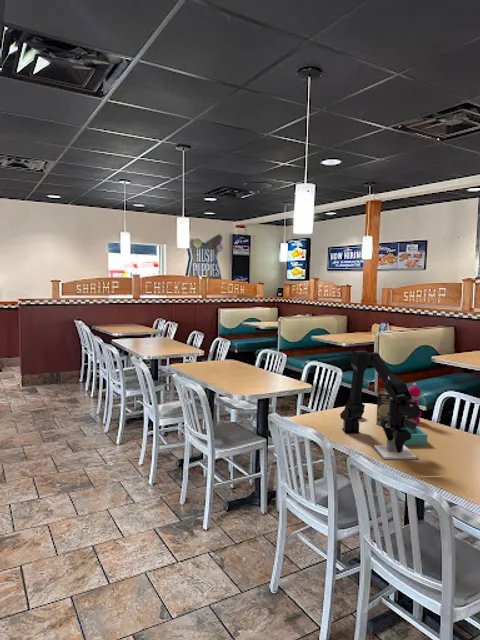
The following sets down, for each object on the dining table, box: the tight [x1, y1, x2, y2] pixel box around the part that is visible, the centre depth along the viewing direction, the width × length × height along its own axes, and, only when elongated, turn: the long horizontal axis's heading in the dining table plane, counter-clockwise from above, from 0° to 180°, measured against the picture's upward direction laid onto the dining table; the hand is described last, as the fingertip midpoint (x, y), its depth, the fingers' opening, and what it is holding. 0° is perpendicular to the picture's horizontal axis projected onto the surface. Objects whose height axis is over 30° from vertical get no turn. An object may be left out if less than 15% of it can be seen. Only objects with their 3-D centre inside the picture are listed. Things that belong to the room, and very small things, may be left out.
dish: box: [401, 425, 428, 446], centre depth 202 cm, size 11×11×5 cm
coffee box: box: [376, 390, 399, 426], centre depth 224 cm, size 9×6×16 cm
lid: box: [373, 439, 418, 459], centre depth 187 cm, size 13×13×5 cm
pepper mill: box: [408, 382, 422, 424], centre depth 228 cm, size 7×7×20 cm
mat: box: [371, 445, 421, 461], centre depth 188 cm, size 15×15×1 cm
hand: (394, 448), depth 187 cm, fingers open, 9 cm apart
